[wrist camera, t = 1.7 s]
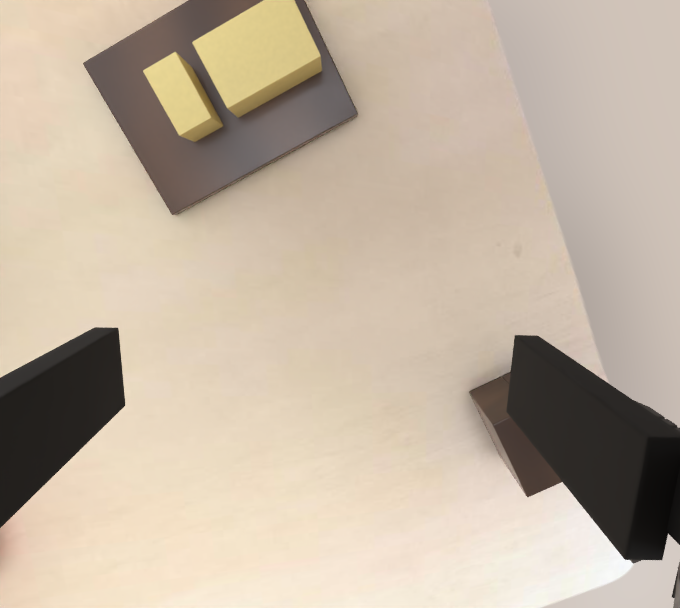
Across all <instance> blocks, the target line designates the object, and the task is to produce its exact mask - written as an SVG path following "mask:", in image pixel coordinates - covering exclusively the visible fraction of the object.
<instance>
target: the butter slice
mask: <svg viewBox="0 0 680 608" xmlns="http://www.w3.org/2000/svg"><path fill="white" fill-rule="evenodd" d="M143 72H144V74H145V76H146V78H147V79H148V81H149V83H150V85H151V87H152V88H153V90H154V92H155V94H156V95H157V97H158V99H159V101H160V102H161V104H162V106H163V108H164V110H165V111H166V113H167V115H168V117H169V118H170V120H171V122H172V124H173V125H174V127H175V129H176V131H177V133H178V134H179V136H181V137H184V138H186V139H189V140H191V141H193V142H196V141H198V140H200V139H201V138H203V137H205V136H207V135H209V134H210V133H212V132H214V131H216V130H217V129H219V128H221V127H223V124H222V122H221V120H220V118H219V116H218V115H217V113H216V111H215V109H214V107H213V105H212V103H211V102H210V100H209V98H208V96H207V94H206V92H205V90H204V89H203V87H202V85H201V83H200V81H199V79H198V77H197V76H196V74H195V72H194V70H193V68H192V67H191V66H190V65H189V64H188V63H187V62H186V61H185V60H184V59H183V58H182V57H181V56H179V55H178V54H177V53H176V52H174V53H172V54H170V55H169V56H167V57H165V58H164V59H162V60H160V61H158V62H157V63H155V64H153V65H152V66H150V67H148V68H146V69H145V70H143Z"/></svg>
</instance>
